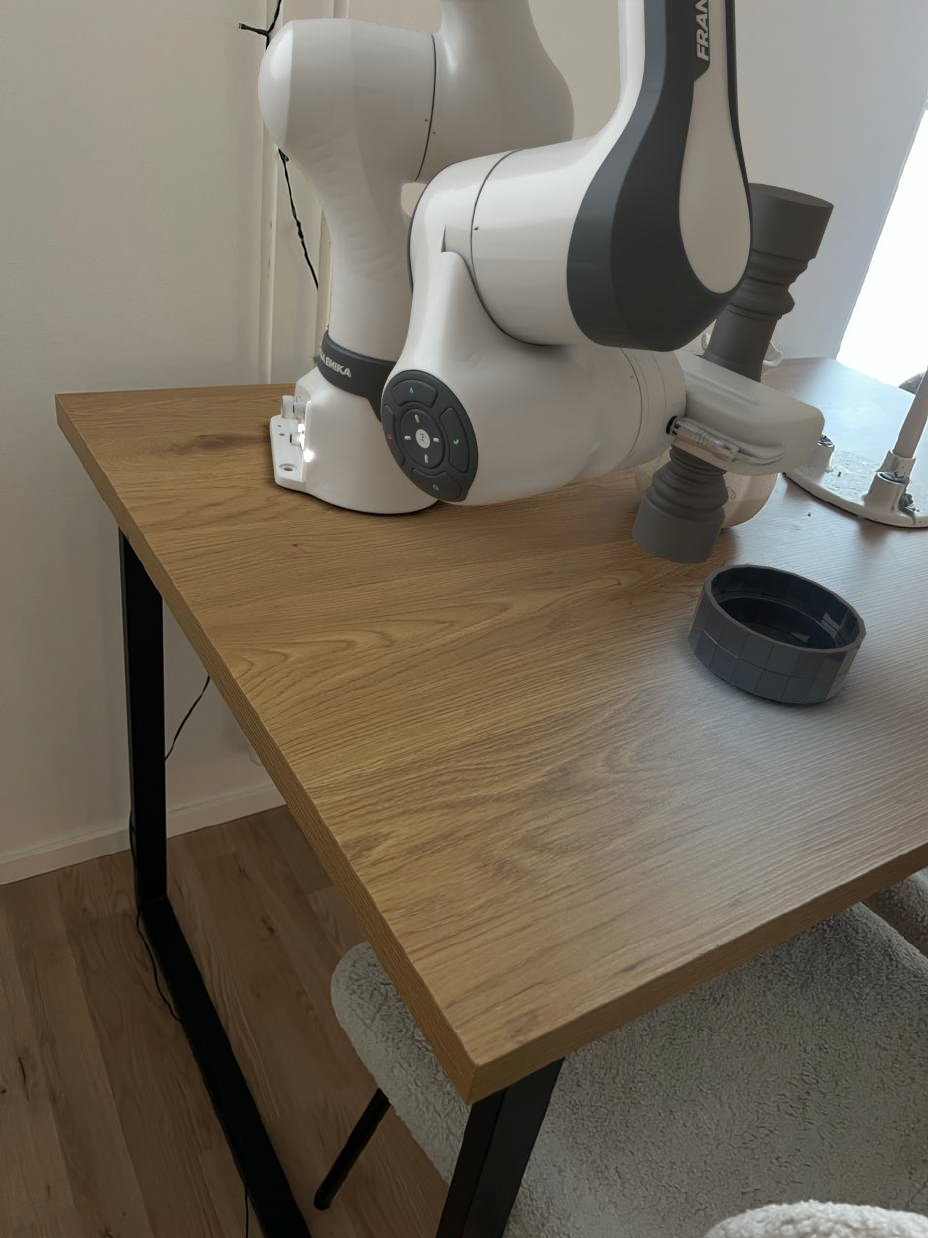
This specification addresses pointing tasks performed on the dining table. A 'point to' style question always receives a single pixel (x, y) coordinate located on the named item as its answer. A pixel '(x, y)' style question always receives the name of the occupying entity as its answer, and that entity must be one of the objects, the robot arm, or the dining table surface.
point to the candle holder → (687, 485)
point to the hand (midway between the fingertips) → (729, 373)
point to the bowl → (775, 633)
